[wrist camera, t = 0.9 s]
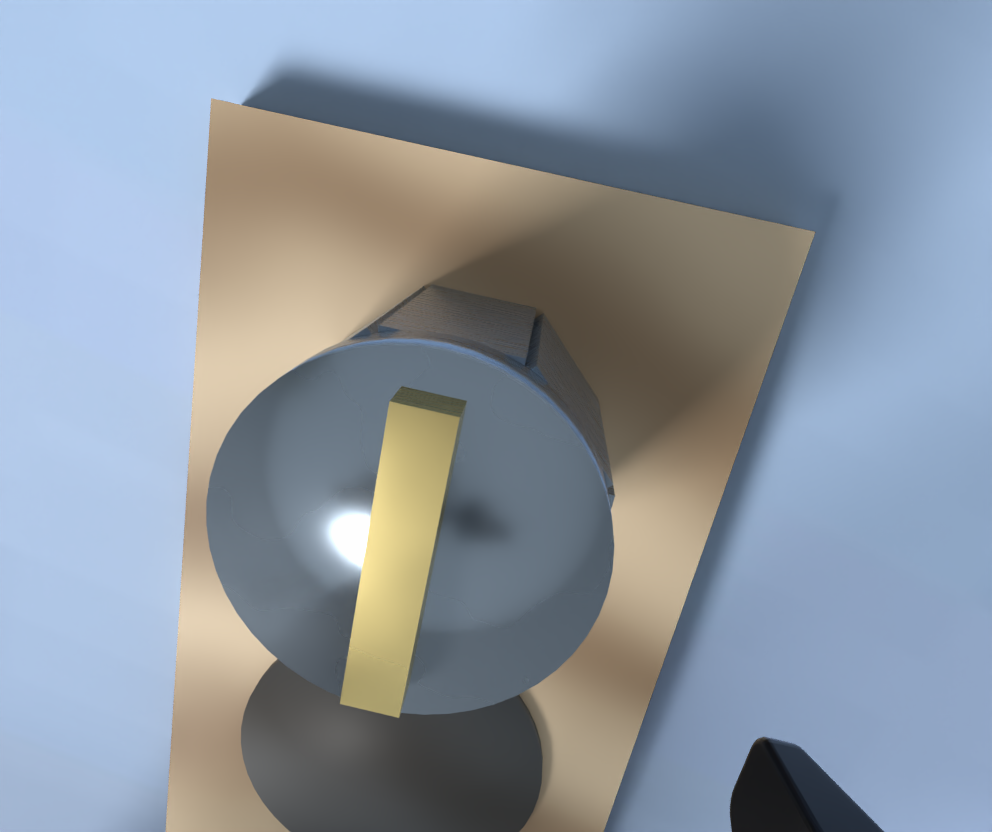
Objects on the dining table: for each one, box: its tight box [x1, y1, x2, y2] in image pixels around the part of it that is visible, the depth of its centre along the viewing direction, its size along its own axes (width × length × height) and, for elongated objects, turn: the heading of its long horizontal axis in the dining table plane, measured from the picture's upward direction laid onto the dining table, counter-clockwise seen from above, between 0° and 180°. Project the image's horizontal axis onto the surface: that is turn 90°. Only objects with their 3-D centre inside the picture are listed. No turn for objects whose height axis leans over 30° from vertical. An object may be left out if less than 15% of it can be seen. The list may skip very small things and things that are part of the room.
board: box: [166, 98, 815, 832], centre depth 15 cm, size 20×12×5 cm, turn 168°
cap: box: [206, 284, 615, 718], centre depth 12 cm, size 6×6×6 cm
